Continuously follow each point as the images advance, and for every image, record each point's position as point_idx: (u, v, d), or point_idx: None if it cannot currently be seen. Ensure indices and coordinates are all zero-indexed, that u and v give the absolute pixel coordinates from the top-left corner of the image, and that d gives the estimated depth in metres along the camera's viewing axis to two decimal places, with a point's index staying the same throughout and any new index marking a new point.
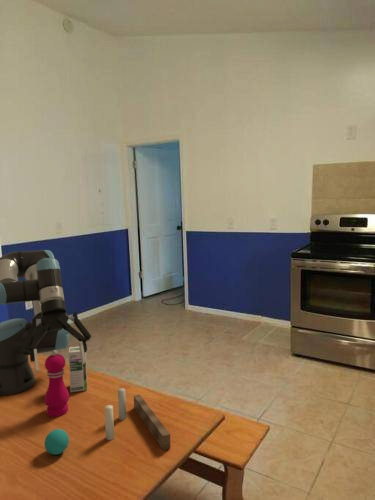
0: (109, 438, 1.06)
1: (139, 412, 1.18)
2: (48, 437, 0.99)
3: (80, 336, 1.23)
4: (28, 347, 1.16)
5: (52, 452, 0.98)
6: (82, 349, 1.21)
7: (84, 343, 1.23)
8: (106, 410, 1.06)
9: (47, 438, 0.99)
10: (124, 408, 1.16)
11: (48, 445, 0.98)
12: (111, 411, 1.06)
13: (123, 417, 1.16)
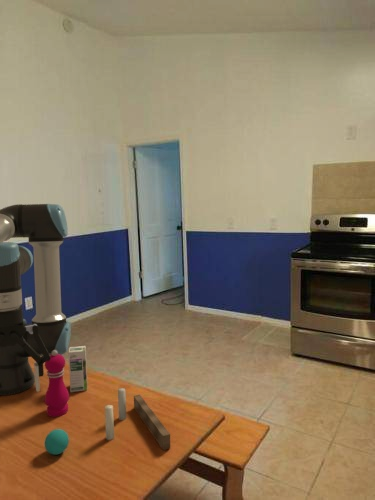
0: (109, 438, 1.06)
1: (139, 412, 1.18)
2: (48, 437, 0.99)
3: (36, 359, 0.96)
4: None
5: (52, 452, 0.98)
6: (37, 376, 0.96)
7: (40, 366, 0.97)
8: (106, 410, 1.06)
9: (47, 438, 0.99)
10: (124, 408, 1.16)
11: (48, 445, 0.98)
12: (111, 411, 1.06)
13: (123, 417, 1.16)
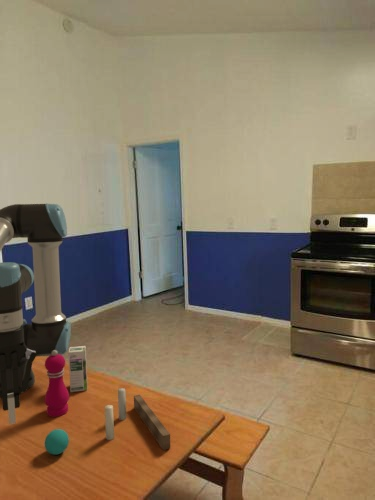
0: (109, 438, 1.06)
1: (139, 412, 1.18)
2: (48, 437, 0.99)
3: (16, 388, 0.94)
4: (0, 395, 0.93)
5: (52, 452, 0.98)
6: (13, 407, 0.94)
7: (17, 398, 0.95)
8: (106, 410, 1.06)
9: (47, 438, 0.99)
10: (124, 408, 1.16)
11: (48, 445, 0.98)
12: (111, 411, 1.06)
13: (123, 417, 1.16)
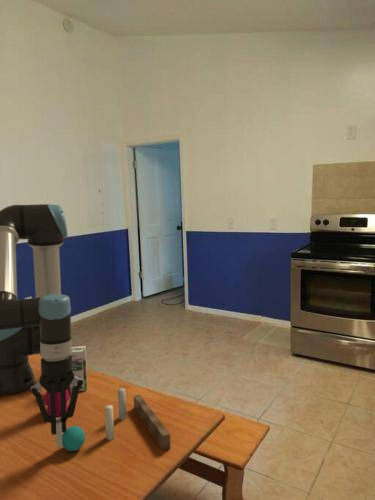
0: (109, 438, 1.06)
1: (139, 412, 1.18)
2: (73, 429, 1.01)
3: (63, 414, 0.99)
4: (50, 420, 0.98)
5: (67, 445, 1.00)
6: (60, 432, 0.99)
7: (63, 423, 1.00)
8: (106, 410, 1.06)
9: (72, 429, 1.01)
10: (124, 408, 1.16)
11: (70, 436, 1.00)
12: (111, 411, 1.06)
13: (123, 417, 1.16)
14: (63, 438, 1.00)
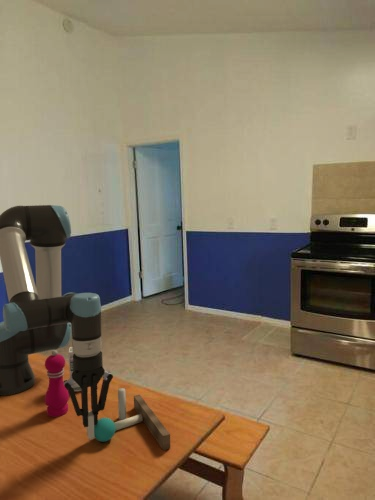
0: None
1: (139, 412, 1.18)
2: (109, 422, 1.05)
3: (95, 407, 1.03)
4: (82, 413, 1.02)
5: (99, 433, 1.03)
6: (92, 424, 1.03)
7: (95, 415, 1.04)
8: None
9: (108, 421, 1.05)
10: (124, 408, 1.16)
11: (104, 427, 1.04)
12: None
13: (123, 417, 1.16)
14: (97, 425, 1.04)
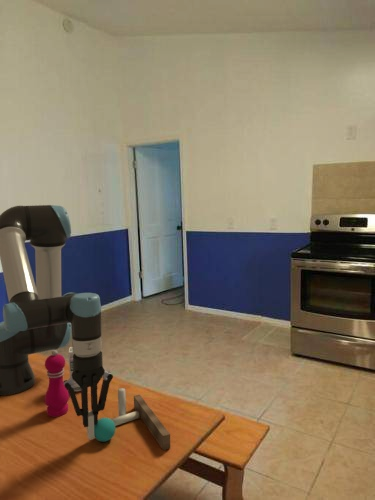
0: None
1: (139, 412, 1.18)
2: (109, 422, 1.05)
3: (95, 407, 1.03)
4: (82, 413, 1.02)
5: (99, 433, 1.03)
6: (92, 424, 1.03)
7: (95, 415, 1.04)
8: (137, 417, 1.16)
9: (108, 421, 1.05)
10: (124, 408, 1.16)
11: (104, 427, 1.04)
12: None
13: None
14: (97, 425, 1.04)
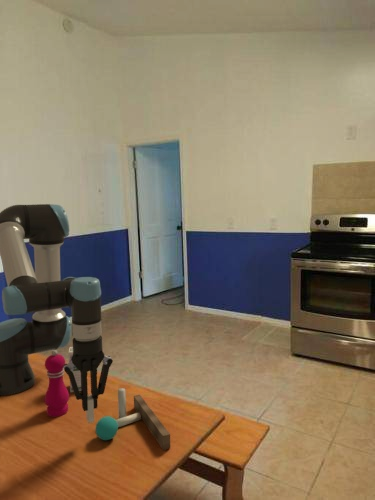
0: None
1: (139, 412, 1.18)
2: (113, 420, 1.07)
3: (95, 391, 1.03)
4: (81, 397, 1.02)
5: (102, 429, 1.04)
6: (92, 408, 1.03)
7: None
8: None
9: (112, 420, 1.07)
10: (124, 408, 1.16)
11: (109, 424, 1.05)
12: None
13: None
14: (102, 421, 1.05)
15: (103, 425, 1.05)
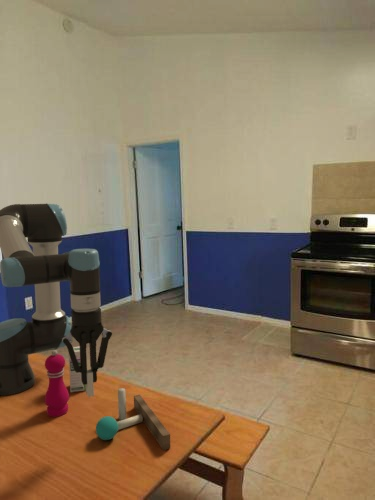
0: None
1: (139, 412, 1.18)
2: (114, 420, 1.07)
3: (94, 364, 1.02)
4: (81, 370, 1.01)
5: (102, 428, 1.04)
6: (91, 382, 1.02)
7: (94, 373, 1.03)
8: None
9: (113, 420, 1.07)
10: (124, 408, 1.16)
11: (109, 424, 1.05)
12: (137, 415, 1.15)
13: (123, 417, 1.16)
14: (102, 421, 1.06)
15: (103, 425, 1.05)
